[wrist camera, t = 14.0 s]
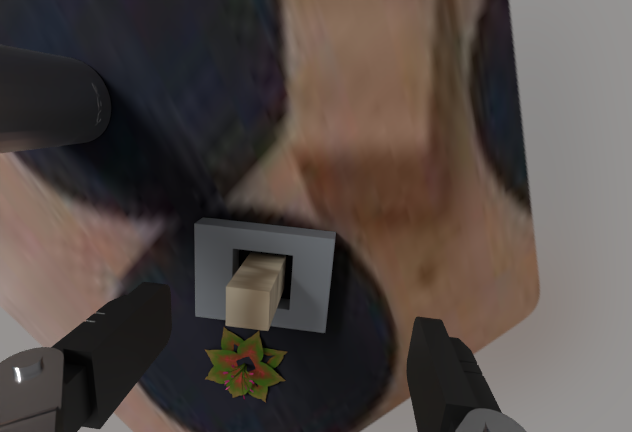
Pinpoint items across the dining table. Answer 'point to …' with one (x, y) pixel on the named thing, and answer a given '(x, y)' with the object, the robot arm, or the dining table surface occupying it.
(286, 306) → the dock plate
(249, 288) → the peg
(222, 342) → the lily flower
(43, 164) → the dining table surface
